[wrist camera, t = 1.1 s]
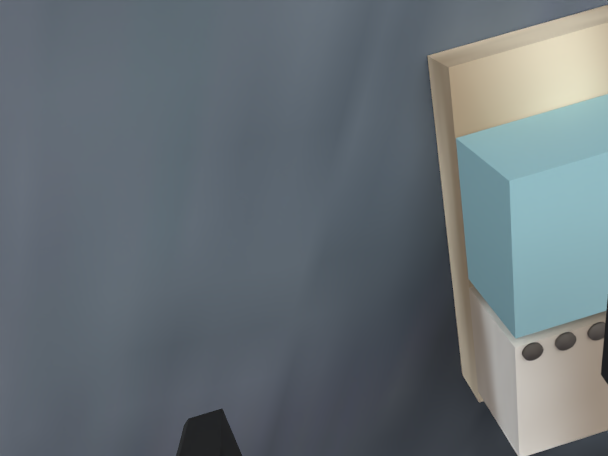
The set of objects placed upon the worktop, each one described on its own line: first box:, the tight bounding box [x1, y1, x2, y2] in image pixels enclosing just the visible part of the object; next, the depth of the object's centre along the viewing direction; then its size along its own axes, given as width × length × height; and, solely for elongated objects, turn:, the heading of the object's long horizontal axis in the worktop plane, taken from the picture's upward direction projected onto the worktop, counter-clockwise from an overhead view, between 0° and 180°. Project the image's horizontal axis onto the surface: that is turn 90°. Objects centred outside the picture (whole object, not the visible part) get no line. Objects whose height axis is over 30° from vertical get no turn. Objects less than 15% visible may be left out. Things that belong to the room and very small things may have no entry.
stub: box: [456, 94, 608, 339], centre depth 16 cm, size 5×5×3 cm
